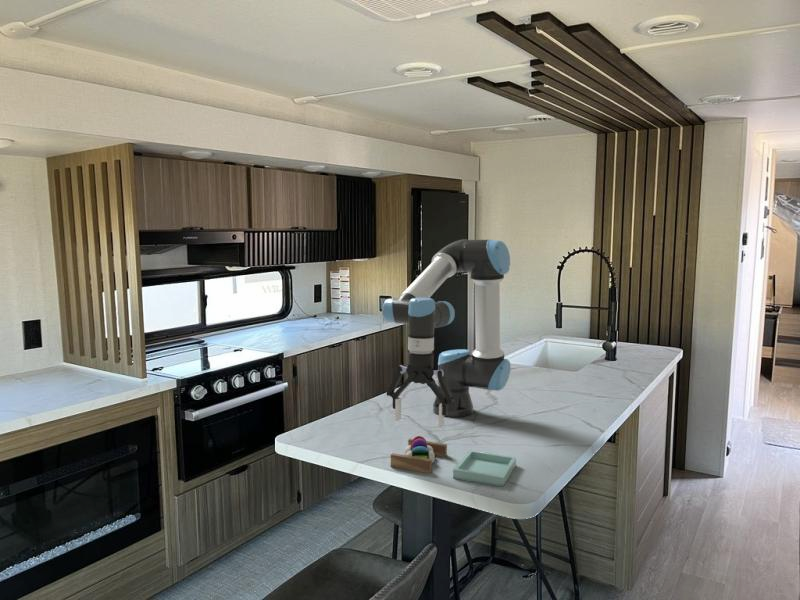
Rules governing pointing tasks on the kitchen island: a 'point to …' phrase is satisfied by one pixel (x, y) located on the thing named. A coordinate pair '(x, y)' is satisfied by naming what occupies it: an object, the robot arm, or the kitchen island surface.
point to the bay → (418, 458)
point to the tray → (485, 468)
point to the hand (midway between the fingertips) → (419, 422)
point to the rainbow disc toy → (420, 449)
